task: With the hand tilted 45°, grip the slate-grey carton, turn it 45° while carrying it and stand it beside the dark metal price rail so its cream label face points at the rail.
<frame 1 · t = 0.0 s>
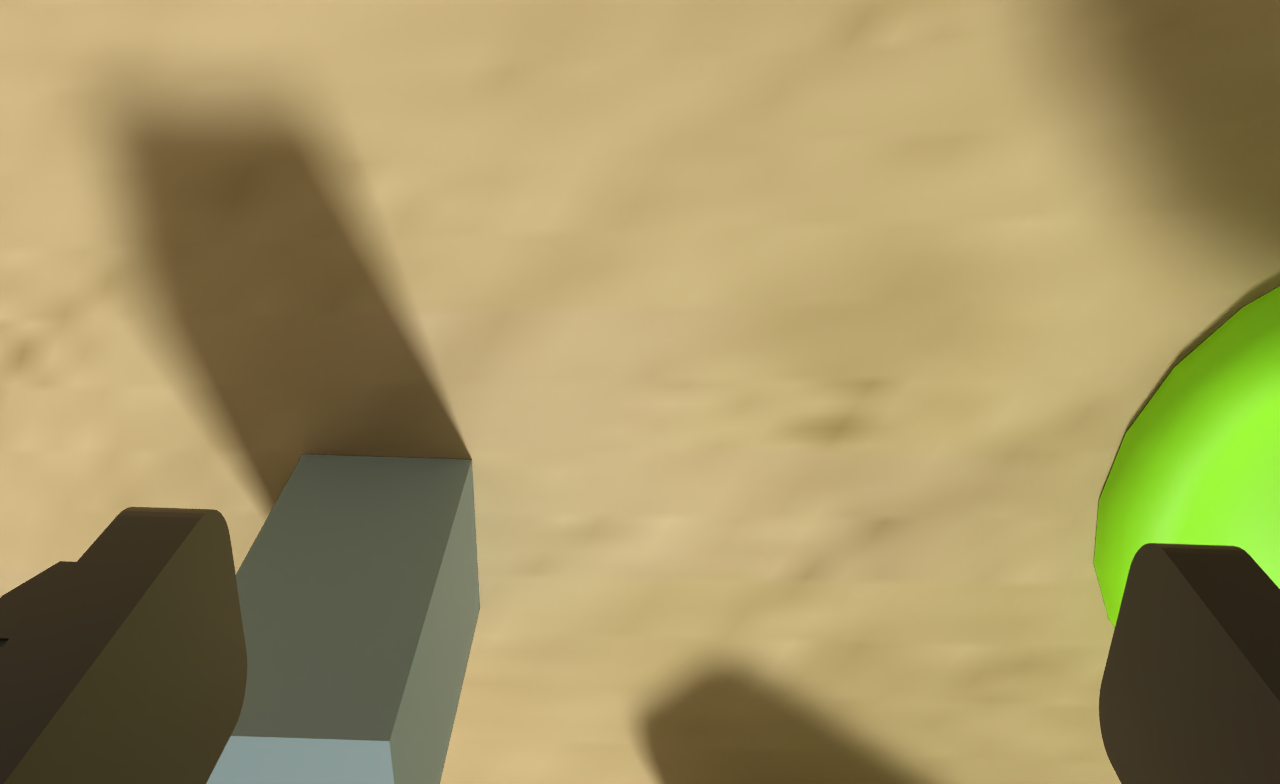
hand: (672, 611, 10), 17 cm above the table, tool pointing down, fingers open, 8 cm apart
carton: (394, 534, 31), on the table
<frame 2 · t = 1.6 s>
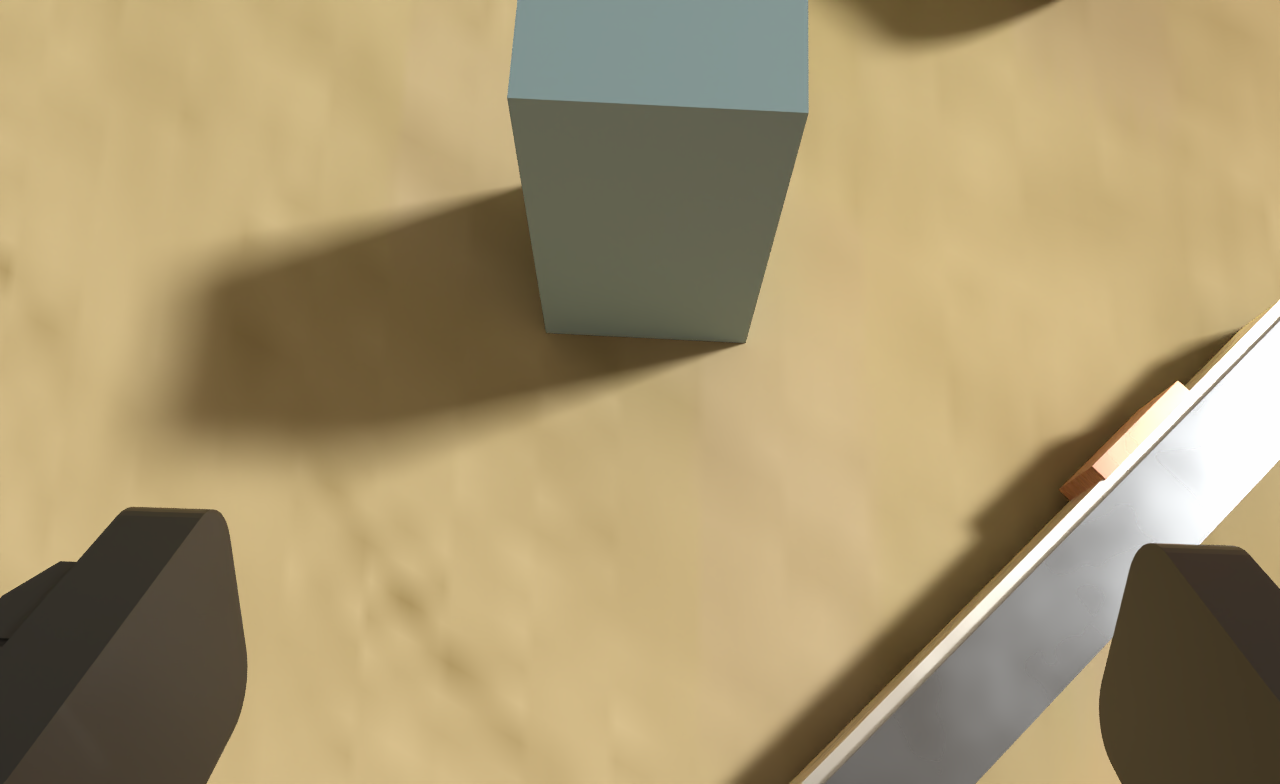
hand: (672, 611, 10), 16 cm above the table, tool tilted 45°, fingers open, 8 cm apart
carton: (649, 257, 29), on the table
price rail: (1064, 587, 26), on the table
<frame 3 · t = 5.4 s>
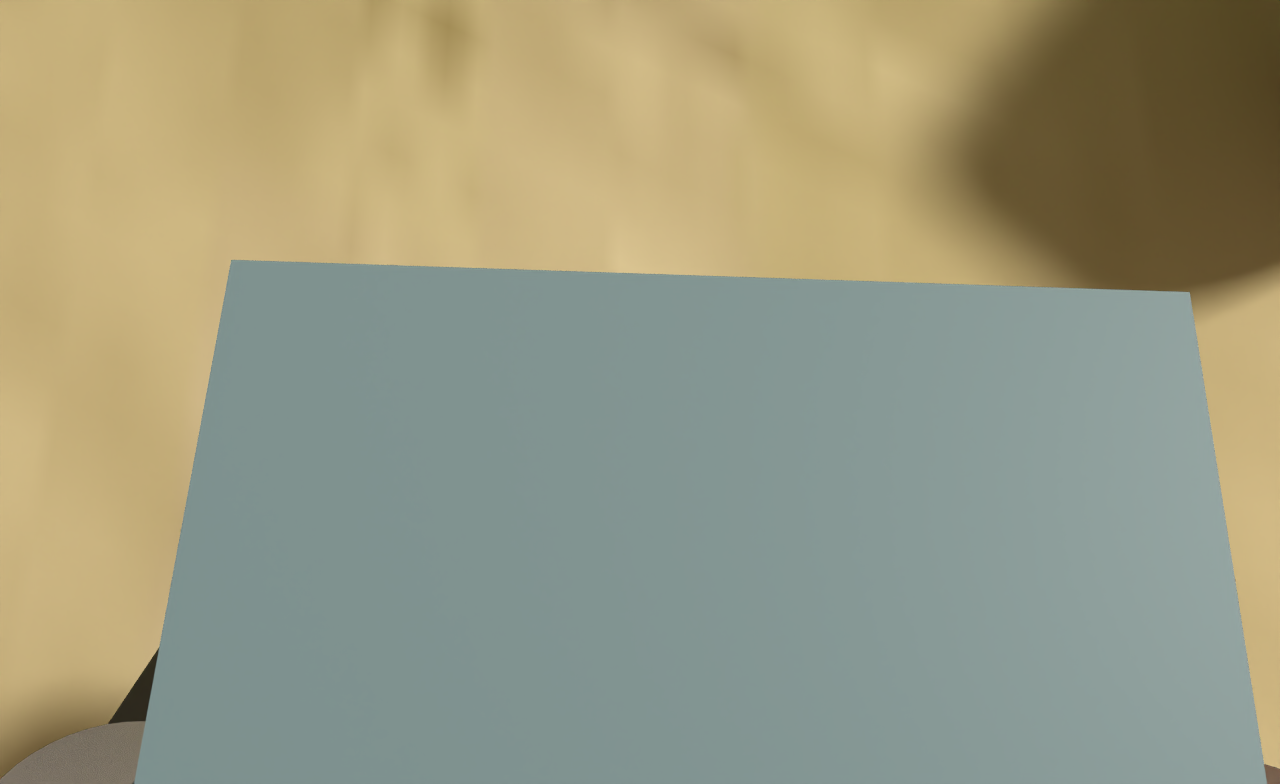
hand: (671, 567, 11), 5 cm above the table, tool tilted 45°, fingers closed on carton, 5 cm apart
when the fingers open (6 cm above the table, at t = 11.7 s): carton stays where it is, on the table.
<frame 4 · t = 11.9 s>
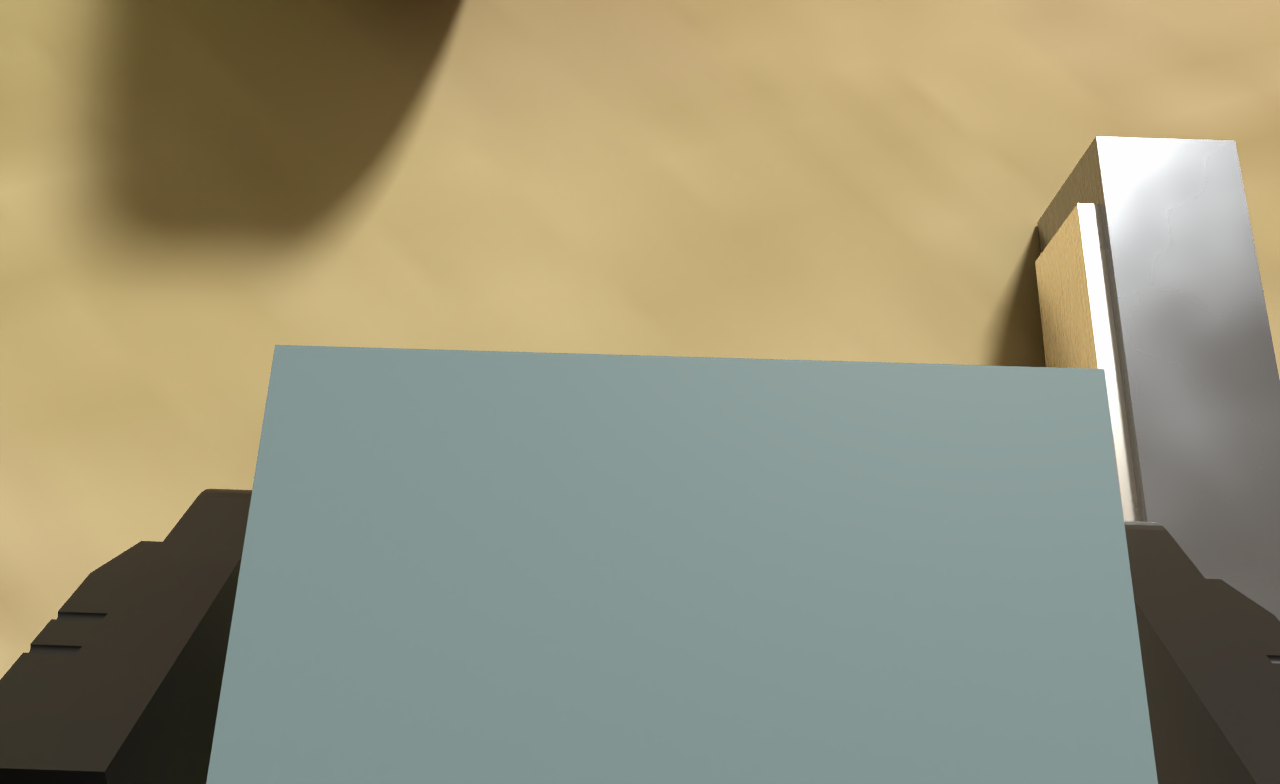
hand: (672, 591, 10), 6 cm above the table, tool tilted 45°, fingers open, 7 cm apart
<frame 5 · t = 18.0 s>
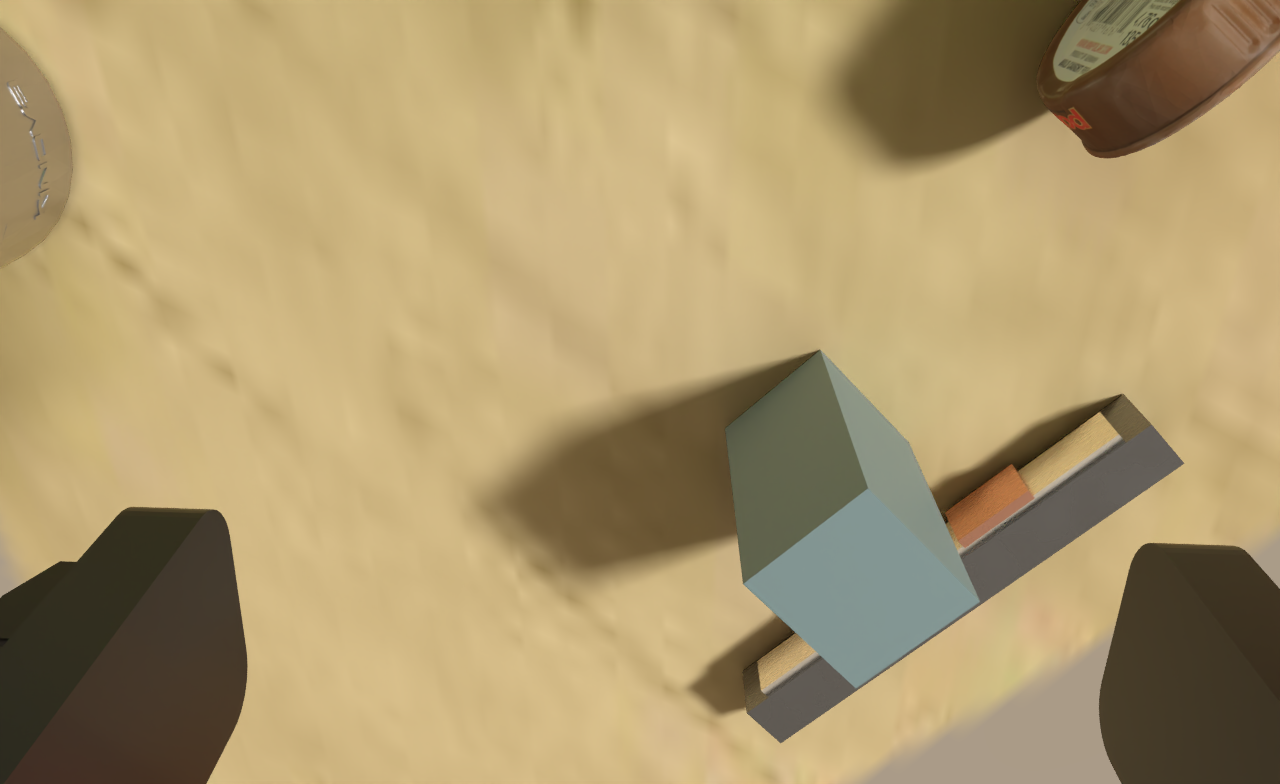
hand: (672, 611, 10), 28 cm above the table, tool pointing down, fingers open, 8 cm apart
carton: (816, 435, 40), on the table
price rail: (937, 557, 42), on the table
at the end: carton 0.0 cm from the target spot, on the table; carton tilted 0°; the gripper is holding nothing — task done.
